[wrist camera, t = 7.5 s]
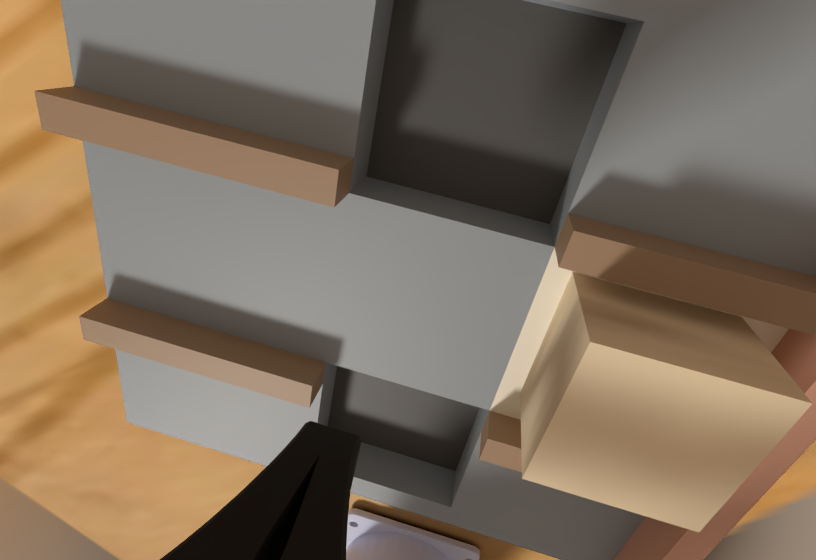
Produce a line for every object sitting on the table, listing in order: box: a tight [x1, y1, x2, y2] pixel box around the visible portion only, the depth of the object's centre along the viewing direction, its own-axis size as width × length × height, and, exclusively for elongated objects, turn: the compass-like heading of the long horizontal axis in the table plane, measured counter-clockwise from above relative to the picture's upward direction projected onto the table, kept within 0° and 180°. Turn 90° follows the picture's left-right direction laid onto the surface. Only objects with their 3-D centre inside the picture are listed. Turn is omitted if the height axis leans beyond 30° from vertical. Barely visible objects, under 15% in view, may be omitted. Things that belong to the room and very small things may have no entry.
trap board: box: [35, 0, 816, 560], centre depth 17 cm, size 23×26×4 cm
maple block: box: [520, 272, 813, 532], centre depth 15 cm, size 6×6×4 cm
